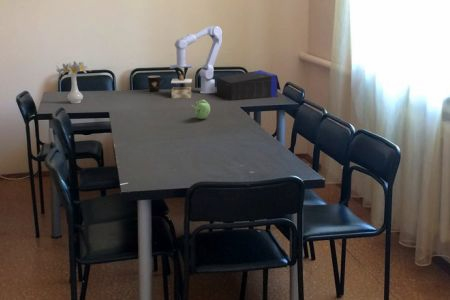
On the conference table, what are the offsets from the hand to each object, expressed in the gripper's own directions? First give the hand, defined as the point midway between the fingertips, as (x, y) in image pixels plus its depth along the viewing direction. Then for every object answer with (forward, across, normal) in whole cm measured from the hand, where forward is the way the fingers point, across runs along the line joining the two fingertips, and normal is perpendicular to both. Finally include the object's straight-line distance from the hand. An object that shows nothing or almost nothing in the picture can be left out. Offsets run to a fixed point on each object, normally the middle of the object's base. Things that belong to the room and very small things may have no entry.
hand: (181, 79), depth 376 cm
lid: (+2, 0, 0) cm, 2 cm away
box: (+10, 0, -5) cm, 11 cm away
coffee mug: (+10, -18, +14) cm, 25 cm away
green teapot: (+10, +13, -72) cm, 74 cm away
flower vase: (+10, -65, -22) cm, 70 cm away
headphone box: (+11, +43, -4) cm, 45 cm away
